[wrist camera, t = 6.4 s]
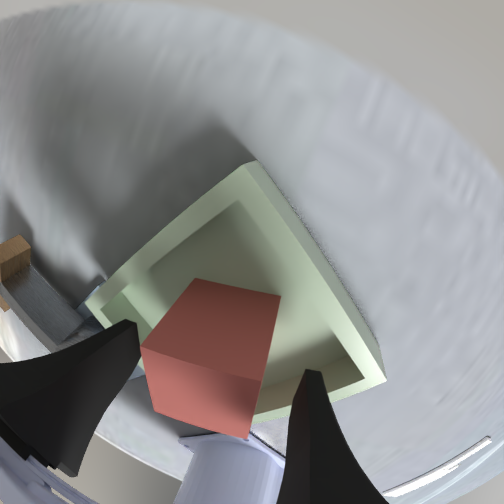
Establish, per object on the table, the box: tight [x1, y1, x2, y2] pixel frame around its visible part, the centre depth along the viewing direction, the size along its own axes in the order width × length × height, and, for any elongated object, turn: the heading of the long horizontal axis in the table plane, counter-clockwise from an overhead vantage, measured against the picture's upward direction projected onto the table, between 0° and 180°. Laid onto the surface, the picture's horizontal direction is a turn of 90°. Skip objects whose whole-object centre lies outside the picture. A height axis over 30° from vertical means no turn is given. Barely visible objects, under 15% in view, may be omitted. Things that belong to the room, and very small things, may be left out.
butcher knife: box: [383, 437, 492, 497], centre depth 18 cm, size 5×15×1 cm, turn 147°
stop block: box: [140, 278, 281, 439], centre depth 11 cm, size 4×4×5 cm
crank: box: [0, 234, 105, 353], centre depth 14 cm, size 12×5×3 cm, turn 57°
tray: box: [85, 160, 387, 425], centre depth 12 cm, size 11×11×2 cm
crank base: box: [75, 281, 145, 381], centre depth 17 cm, size 6×10×1 cm, turn 127°
